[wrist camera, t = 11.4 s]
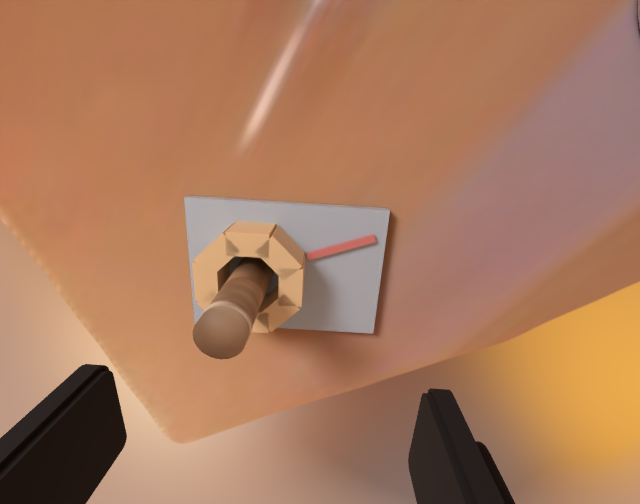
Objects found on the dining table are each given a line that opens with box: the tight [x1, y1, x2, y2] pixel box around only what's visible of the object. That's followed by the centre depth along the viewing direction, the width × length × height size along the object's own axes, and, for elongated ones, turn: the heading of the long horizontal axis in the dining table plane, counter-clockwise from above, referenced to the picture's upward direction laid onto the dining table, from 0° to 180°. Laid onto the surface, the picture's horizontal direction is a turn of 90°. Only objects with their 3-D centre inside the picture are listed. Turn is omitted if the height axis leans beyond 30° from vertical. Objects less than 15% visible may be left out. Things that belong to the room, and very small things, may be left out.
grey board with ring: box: [184, 196, 390, 334], centre depth 31 cm, size 20×14×5 cm
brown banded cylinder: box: [193, 257, 274, 359], centre depth 26 cm, size 4×4×12 cm
